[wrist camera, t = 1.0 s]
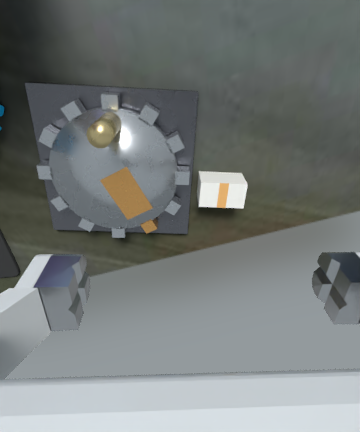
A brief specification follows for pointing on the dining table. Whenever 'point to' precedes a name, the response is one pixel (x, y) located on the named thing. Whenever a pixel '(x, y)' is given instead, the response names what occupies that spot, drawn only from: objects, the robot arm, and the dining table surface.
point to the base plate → (131, 99)
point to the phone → (7, 260)
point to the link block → (221, 190)
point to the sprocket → (113, 166)
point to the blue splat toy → (1, 112)
